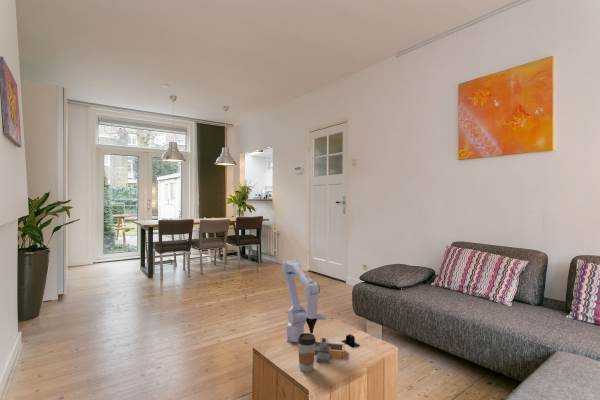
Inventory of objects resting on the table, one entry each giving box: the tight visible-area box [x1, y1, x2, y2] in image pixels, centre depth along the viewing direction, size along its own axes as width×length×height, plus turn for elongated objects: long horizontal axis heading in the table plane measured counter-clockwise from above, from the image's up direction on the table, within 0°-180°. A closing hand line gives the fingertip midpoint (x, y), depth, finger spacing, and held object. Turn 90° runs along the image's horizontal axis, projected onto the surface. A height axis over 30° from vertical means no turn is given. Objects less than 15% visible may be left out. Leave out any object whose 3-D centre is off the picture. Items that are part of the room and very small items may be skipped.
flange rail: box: [315, 341, 346, 359], centre depth 163 cm, size 16×8×3 cm, turn 79°
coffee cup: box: [298, 332, 317, 373], centre depth 147 cm, size 8×8×15 cm
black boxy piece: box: [340, 333, 360, 349], centre depth 174 cm, size 12×7×5 cm, turn 36°
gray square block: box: [316, 352, 332, 364], centre depth 155 cm, size 6×6×2 cm
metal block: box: [318, 337, 329, 351], centre depth 163 cm, size 4×4×5 cm
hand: (311, 332), depth 164 cm, fingers closed
